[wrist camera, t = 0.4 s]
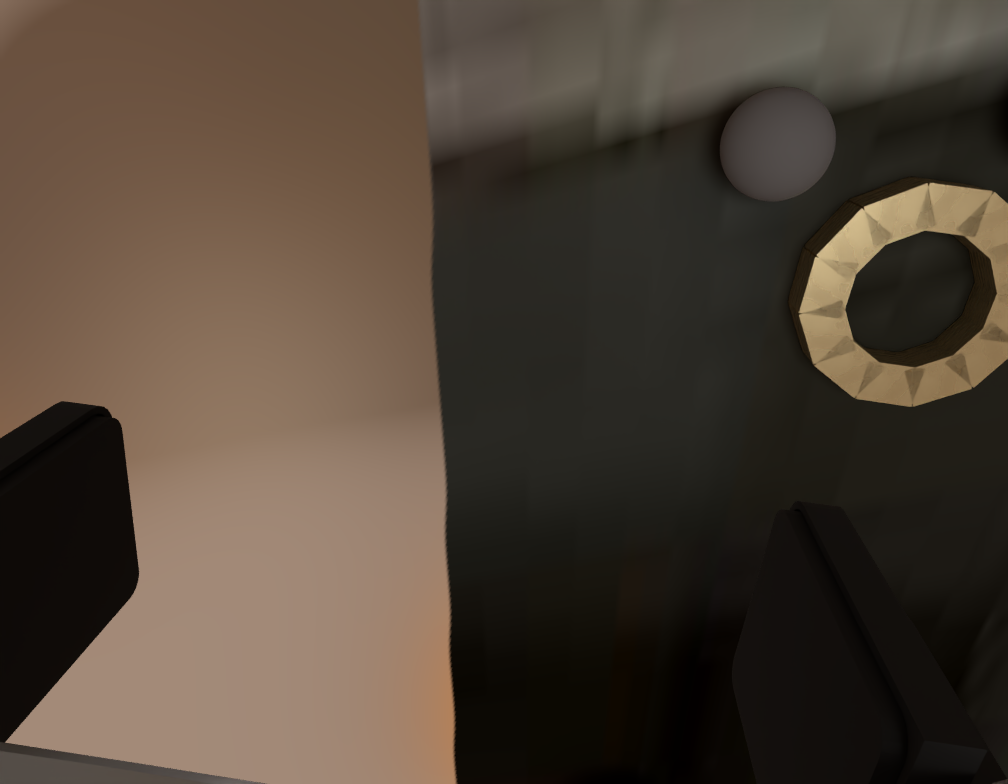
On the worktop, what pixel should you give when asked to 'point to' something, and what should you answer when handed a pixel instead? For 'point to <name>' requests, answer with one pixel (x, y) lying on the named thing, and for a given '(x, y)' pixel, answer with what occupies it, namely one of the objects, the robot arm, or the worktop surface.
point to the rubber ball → (777, 144)
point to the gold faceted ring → (855, 241)
